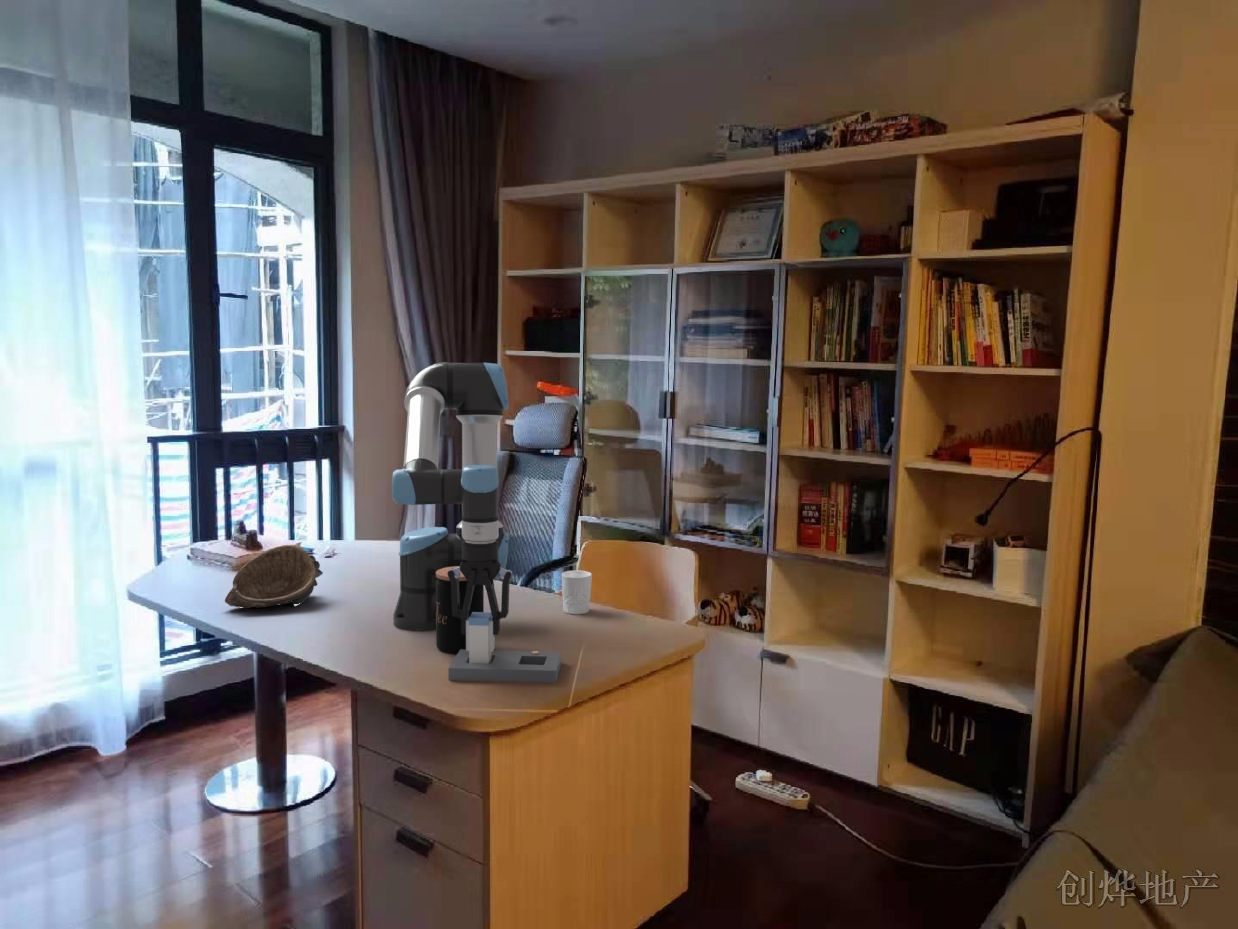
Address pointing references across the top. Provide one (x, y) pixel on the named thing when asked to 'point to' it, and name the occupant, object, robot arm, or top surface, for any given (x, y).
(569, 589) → the white cup
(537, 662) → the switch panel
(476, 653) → the milk carton
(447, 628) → the coffee jar
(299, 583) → the coconut shell half
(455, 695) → the top surface
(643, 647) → the top surface
